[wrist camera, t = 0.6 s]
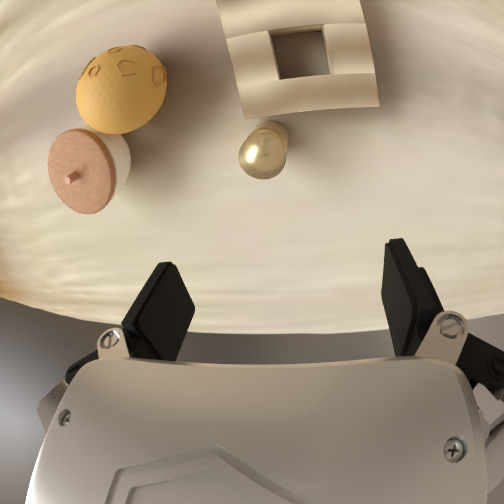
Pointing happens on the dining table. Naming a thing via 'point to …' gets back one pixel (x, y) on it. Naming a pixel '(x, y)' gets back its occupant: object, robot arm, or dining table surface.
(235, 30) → the jig
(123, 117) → the stress ball
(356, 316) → the dining table surface
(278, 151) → the brass cylinder
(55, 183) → the lidded jar
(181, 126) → the dining table surface
